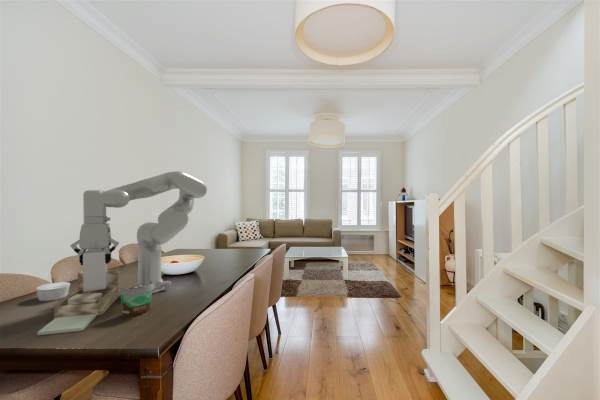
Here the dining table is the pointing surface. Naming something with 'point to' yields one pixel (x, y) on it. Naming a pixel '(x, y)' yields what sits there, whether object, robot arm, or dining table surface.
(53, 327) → the sage board
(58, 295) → the ramekin
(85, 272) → the milk carton
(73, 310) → the birch rack
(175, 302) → the dining table surface
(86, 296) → the offcut stack
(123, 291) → the food container
